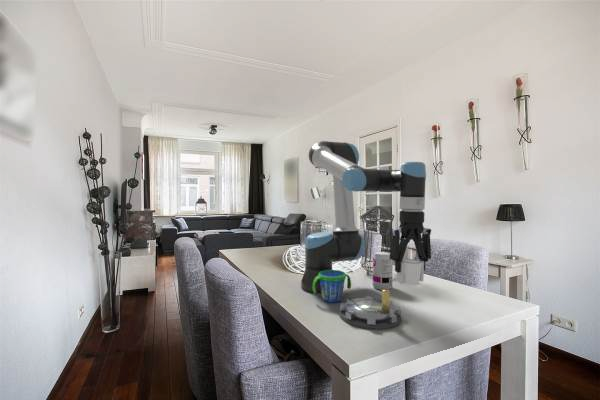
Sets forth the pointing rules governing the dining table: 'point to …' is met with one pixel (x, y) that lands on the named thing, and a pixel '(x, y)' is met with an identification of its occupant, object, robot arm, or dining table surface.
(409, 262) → the shot glass
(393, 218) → the geometric lantern
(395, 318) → the sprocket
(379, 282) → the supplement can
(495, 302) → the dining table surface
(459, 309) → the dining table surface
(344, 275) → the snack cup
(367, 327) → the sprocket base
